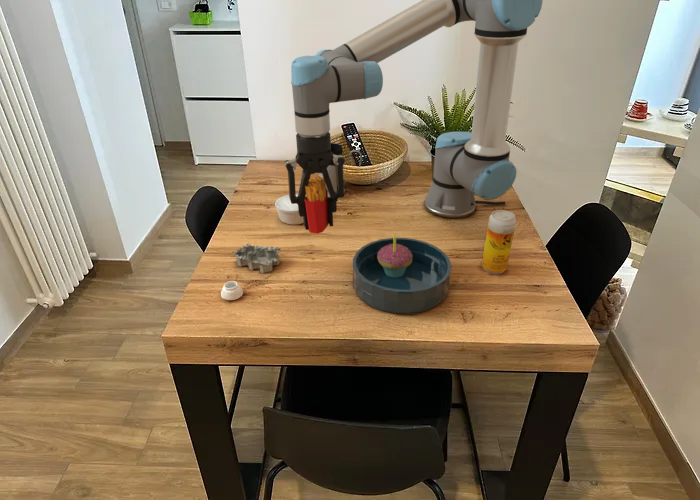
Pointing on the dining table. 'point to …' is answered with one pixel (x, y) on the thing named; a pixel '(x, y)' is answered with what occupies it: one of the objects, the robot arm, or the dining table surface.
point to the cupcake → (394, 259)
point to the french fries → (317, 205)
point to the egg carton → (258, 257)
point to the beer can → (498, 241)
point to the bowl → (402, 278)
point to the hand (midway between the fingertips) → (318, 225)
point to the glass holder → (335, 150)
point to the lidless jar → (231, 291)
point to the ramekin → (288, 211)
